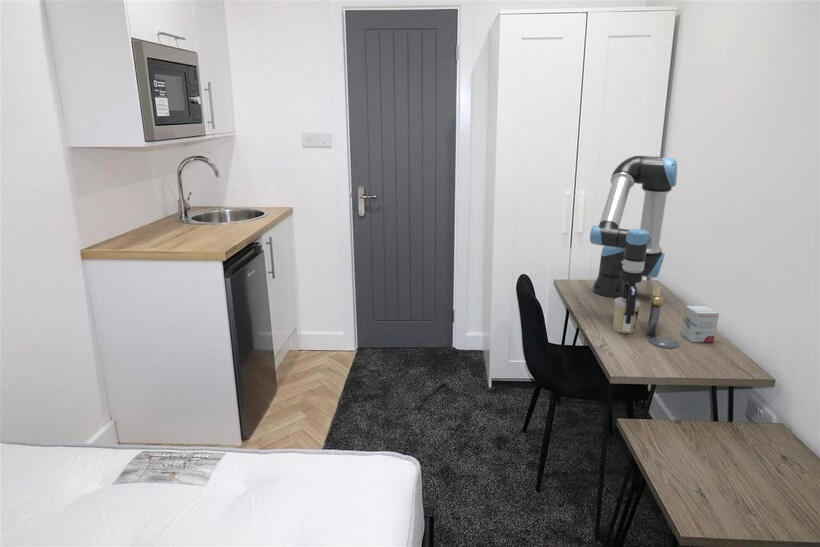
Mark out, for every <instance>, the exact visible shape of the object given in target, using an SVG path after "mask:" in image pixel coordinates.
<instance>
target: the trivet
mask: <svg viewBox="0 0 820 547" xmlns="http://www.w3.org/2000/svg"><path fill="white" fill-rule="evenodd" d="M648 342H649V343H650V344H651V345H653V346H654V347H655V346H656V347H658V348H661V349H668V350H669V349H671V350H672V349H677V348H678V347H679V345H680V344H679V342H678V341H676V340H675V339H672V338H669V337H667V336H660V335H659V336H658V335H656V336H653V337H649V338H648Z"/></svg>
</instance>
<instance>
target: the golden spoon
mask: <svg viewBox="0 0 820 547" xmlns="http://www.w3.org/2000/svg"><path fill="white" fill-rule="evenodd" d="M651 292H652V295H651V296H650V301H649V304H650V305H651V304H652V305H655V306H661V307H662V306H663V304H664V300H665V299H664V297H663V296H661V287H660V286H652V291H651Z"/></svg>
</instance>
